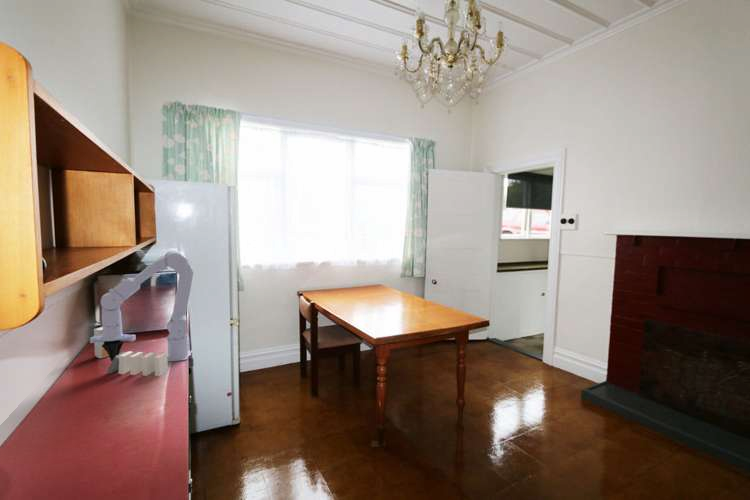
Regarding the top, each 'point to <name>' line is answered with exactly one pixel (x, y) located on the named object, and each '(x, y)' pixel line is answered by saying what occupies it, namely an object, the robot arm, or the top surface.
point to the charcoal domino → (114, 364)
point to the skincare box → (99, 344)
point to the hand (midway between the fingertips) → (114, 359)
